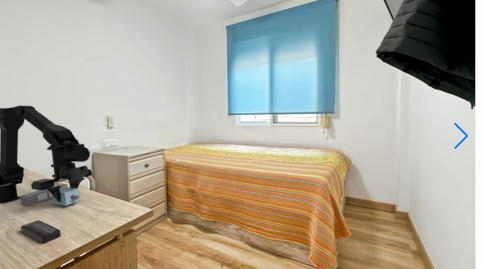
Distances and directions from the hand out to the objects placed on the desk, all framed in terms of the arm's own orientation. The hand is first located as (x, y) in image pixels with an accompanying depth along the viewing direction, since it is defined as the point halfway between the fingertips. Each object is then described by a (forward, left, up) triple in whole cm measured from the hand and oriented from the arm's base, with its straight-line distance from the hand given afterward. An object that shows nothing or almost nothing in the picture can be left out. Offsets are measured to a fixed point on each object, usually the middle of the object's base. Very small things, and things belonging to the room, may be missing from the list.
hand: (66, 199), depth 85 cm
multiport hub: (+14, -17, -3) cm, 22 cm away
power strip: (-16, +3, -2) cm, 17 cm away
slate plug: (0, 0, -1) cm, 1 cm away
